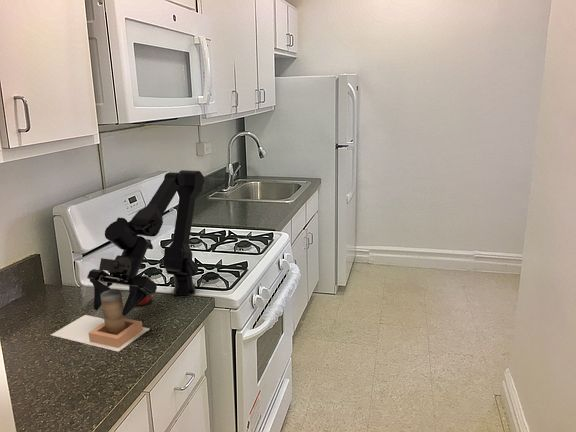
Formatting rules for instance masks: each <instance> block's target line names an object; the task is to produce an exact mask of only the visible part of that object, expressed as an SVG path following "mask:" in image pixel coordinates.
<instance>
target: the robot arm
mask: <svg viewBox="0 0 576 432" xmlns="http://www.w3.org/2000/svg"><path fill="white" fill-rule="evenodd" d="M204 183H205V177H204V175H203V174H202V172H201V171H200V170H186V169H184V170H183V169H182V170H180V171H179V172H171V171H170V172H166V173H165V174H164V177H163V181H162V182H161V184H160V185H159V186H158V189H157V190H156V192H155V193H154V195H153V196H152V198H151V199H150V201H149V202H148V204H147V205H146V206H145V207H142V209H139V210H138V211H137V212H136V213H135V214H134V215H133V216H132V218H131V220H129V221H128V220H127V219H126V218H124V217H117V218H116V220H115V221H113V222H111V223H110V224H109V225H108V226H107V227H106V228H105V230H104V237H105V239H106V240H108V241H109V242H110V243H111V244H113V245H114V246H116V247H117V248H118V249H120V250H122V251H121V252H122V253H121V255H119V254H117V255H116V256H115V259H111V258H103V257H101V258H100V261H99V262H100V263H99V267H98V269H96V268H95V269H94V268H93V269H91V270H89V272H88V274H87V276H86V279H88V280H89V282H90V283H91V284H92V286H93V292H94V300H93V309H94V311H98V310H99V309H100V308H101V307H102V302H101V296H100V295H101V293H103V292H105V291H107V290H112V289H111V288H110V287H111V286H112V285H113V284H116V285H121V286H128V291H129V293H128V296H127V298H126V301H125V304H124V305H123V313H122V315H124V316H127V315H129V313H130V312H131V311H133V309H134V308H135V307H136V306H138V305H137V304H138V303H139V302H141V301H142V300H143V299H144V298H146V297H147V296H148V297H149V296H150V294H151V295H156V292H157V289H158V287H157V283H156V282H155V281H154V280H152V279H150V277H148V276H144V275H138V272H139V271H140V270H143V269H144V267H145V266H144V265H143V264H142V263H143V261H144V258H145V255H146V253H147V250H153V249H154V246H153V244H152V242H151V241H152V240H151V239H148V238H145V237H153V238H154V237H157V236H158V234H159V233H160V231H161V228H162V226H163V225H164V224H163V223H164V219H163V215H164V214H165V211H166V210H167V208H168V207H169V205H170V204H171V202H172V200H173V198H174V197H175V195H176V193H177V194H178V197H179V199H178V206H177V210H176V211H177V212H176V218H175V222H174V231H173V237H172V242H171V244H170V245H169V246H166V247H165V248H164V249H163V251H164V253H163V258H162V261H163V267H164V269H165V271H166V274H167V275H172V276H173V281H174V289H173V296H176V297H177V296H186V295H187V296H188V294H189V295H195V293H196V292H195V291H196V284H194V280H193V277H194V276H196V275H197V273H198V272H199V264H198V263H196V262H195V261H194V260H193V251H192V249H191V247H190V238H191V237H190V236H191V232H192V224H193V217H194V210H195V205H196V204H195V203H196V199H197V198H198V197H199V195H201V193H202V191H203V189H204V188H203V187H204Z"/></svg>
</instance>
